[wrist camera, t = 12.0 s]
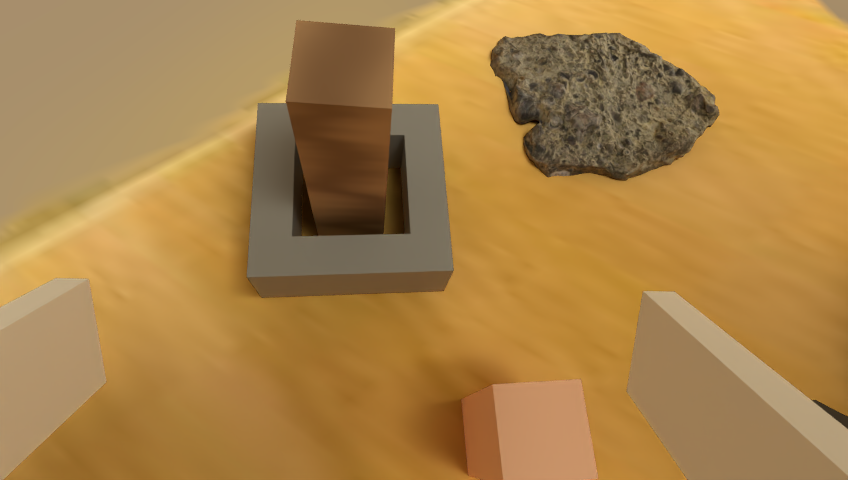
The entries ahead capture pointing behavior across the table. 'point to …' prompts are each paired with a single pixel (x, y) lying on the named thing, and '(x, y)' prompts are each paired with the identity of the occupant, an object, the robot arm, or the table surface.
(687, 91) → the stone slab
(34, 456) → the table surface
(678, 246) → the table surface
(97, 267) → the table surface
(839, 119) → the table surface
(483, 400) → the short peg
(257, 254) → the collar
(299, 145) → the long peg
